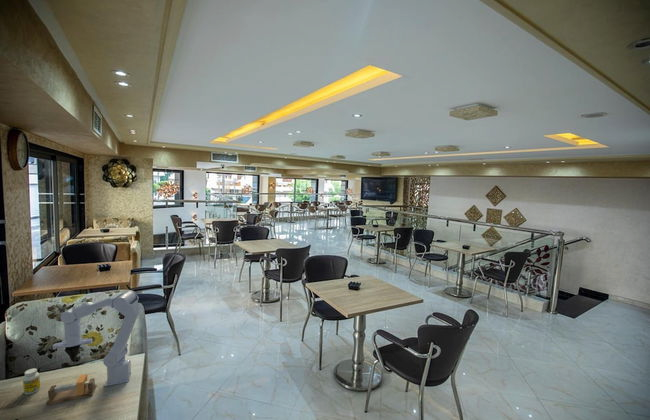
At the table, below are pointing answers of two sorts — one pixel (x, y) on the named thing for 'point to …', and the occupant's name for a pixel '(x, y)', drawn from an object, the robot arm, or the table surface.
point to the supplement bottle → (31, 381)
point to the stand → (69, 394)
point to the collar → (81, 385)
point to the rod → (68, 387)
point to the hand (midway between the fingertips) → (73, 360)
